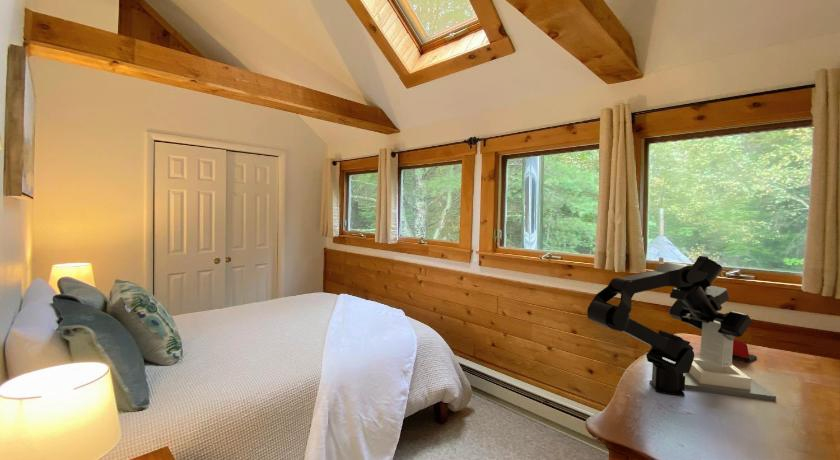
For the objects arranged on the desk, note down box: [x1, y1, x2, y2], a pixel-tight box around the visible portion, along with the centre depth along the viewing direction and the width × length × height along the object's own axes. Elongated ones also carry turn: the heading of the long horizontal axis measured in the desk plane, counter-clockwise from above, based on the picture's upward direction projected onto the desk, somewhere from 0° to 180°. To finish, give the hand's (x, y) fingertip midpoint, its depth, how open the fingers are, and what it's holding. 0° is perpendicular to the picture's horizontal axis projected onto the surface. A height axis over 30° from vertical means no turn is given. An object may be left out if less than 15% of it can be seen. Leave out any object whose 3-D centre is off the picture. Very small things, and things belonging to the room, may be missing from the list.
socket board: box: [673, 357, 777, 402], centre depth 104 cm, size 20×16×4 cm
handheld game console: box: [732, 339, 758, 364], centre depth 124 cm, size 12×11×7 cm
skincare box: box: [699, 321, 733, 367], centre depth 103 cm, size 6×4×12 cm
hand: (720, 335), depth 104 cm, fingers closed on skincare box, 6 cm apart
